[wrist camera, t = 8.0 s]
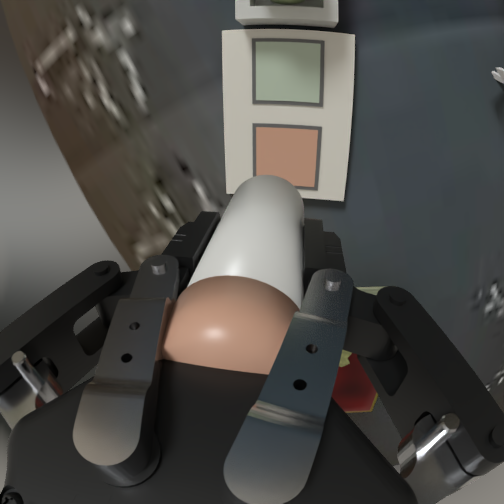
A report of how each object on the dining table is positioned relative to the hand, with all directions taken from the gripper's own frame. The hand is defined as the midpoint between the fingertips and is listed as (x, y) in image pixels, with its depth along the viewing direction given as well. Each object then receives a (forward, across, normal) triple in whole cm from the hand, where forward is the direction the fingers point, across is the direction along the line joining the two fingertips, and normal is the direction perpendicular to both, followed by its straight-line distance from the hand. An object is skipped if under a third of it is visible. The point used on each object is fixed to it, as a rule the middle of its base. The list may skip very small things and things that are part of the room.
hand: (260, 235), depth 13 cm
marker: (+3, 0, 0) cm, 3 cm away
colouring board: (+14, 0, -3) cm, 14 cm away
